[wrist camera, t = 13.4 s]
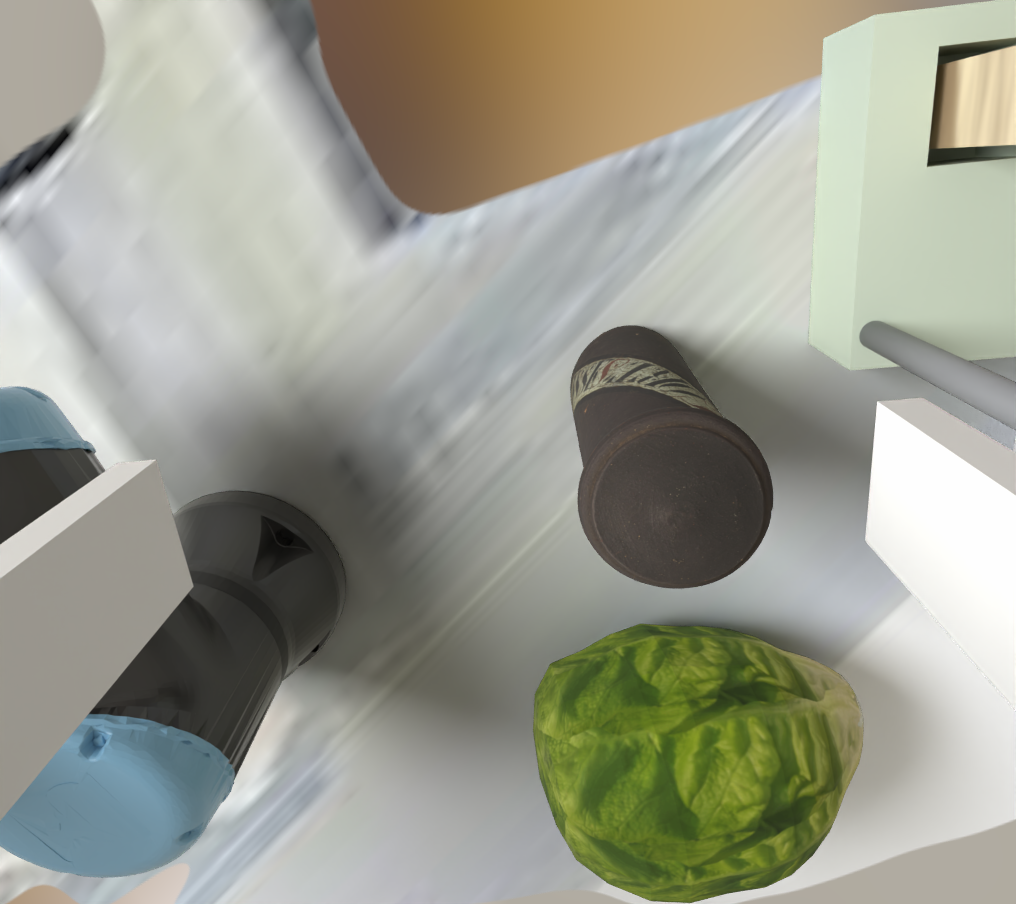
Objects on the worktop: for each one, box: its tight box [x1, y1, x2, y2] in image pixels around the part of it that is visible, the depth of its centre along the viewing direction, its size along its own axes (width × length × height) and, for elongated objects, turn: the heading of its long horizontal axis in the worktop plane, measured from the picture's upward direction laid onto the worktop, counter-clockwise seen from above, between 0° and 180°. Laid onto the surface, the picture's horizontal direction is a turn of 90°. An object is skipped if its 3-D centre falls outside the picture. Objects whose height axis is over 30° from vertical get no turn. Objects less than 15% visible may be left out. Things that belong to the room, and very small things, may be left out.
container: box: [570, 326, 773, 588], centre depth 41 cm, size 9×9×20 cm
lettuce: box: [533, 624, 863, 903], centre depth 51 cm, size 18×23×19 cm
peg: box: [929, 46, 1016, 149], centre depth 36 cm, size 4×4×14 cm
